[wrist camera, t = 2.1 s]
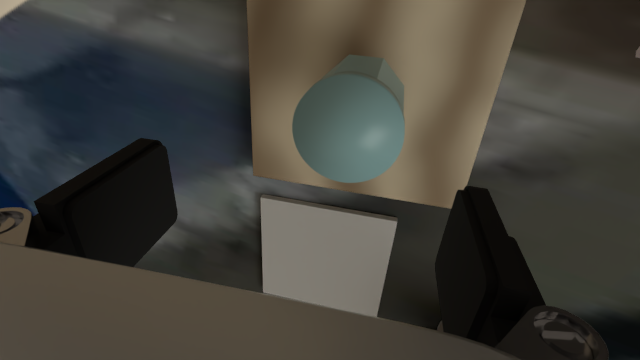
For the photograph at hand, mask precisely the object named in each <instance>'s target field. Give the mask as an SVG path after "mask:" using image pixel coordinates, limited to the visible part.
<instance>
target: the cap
mask: <svg viewBox="0 0 640 360" xmlns="http://www.w3.org/2000/svg"><path fill="white" fill-rule="evenodd" d="M292 133H293V139H294V142H295V145H296V148H297V150H298V152H299V154H300V155H301V157H302V158H303V160H304V161H305V162H306V163H307V164H308V165H309V166H310V167H311V168H312V169H313V170H314V171H316V172H317V173H319V174H320V175H322V176H324V177H326V178H328V179H331V180H334V181H338V182H344V183H358V182H364V181H368V180H370V179H373V178H375V177H377V176H379V175H381V174H382V173H384V172H385V171H386V170H387V169H389V168H390V167H391V166H392V164H393V163H394V162H395V161H396V159H397V157H398V156H399V154H400V152H401V149H402V146H403V142H404V135H405V119H404V85H403V83H402V82H401V81H400V79H399V78H398V77H397V75H396V74H395V73H394V71H393V70H392V69H391V67H390V66H389V65H388V63H387V62H386V61H385V59H384V58H378V57H368V56H359V55H348V56H347V57H346V58H344V59H343V60H342V61H341V62H340V63H339V64H337V65H336V66H335V67H334V68H333V69H332V70H330V71H329V72H328V73H327V74H326V75H325V76H323V78H322V79H320V80H319V81H318V82H316V83H315V84H314V85H313V86H312V87H311V88H310V89H309V90H308V91H307V92H306V93H305V94H304V96H303V97H302V98H301V100H300V101H299V103H298V105H297V107H296V110H295V112H294V116H293V123H292Z"/></svg>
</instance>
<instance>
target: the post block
mask: <svg viewBox="0 0 640 360" xmlns="http://www.w3.org/2000/svg"><path fill="white" fill-rule="evenodd" d="M525 3H526V0H247V21H248V47H249V73H250V99H251V125H252V151H253V176H259V177H265V178H271V179H277V180H283V181H289V182H295V183H301V184H307V185H313V186H319V187H325V188H331V189H337V190H343V191H349V192H355V193H361V194H367V195H373V196H379V197H385V198H391V199H397V200H403V201H408V202H414V203H420V204H426V205H432V206H438V207H444V208H450V209H451V208H452V205H453V202H454V199H455V195H456V192H457V191H458V190H464V188H465V187H466V186H467V183H468V180H469V177H470V174H471V170H472V167H473V164H474V161H475V158H476V155H477V152H478V149H479V146H480V143H481V139H482V136H483V133H484V130H485V127H486V124H487V121H488V118H489V115H490V111H491V108H492V105H493V102H494V99H495V96H496V93H497V90H498V87H499V83H500V80H501V77H502V74H503V71H504V68H505V65H506V62H507V59H508V55H509V52H510V49H511V46H512V43H513V40H514V37H515V34H516V31H517V28H518V24H519V21H520V18H521V15H522V12H523V9H524V6H525ZM348 55H359V56H368V57H378V58H384V59H385V61H386V62H387V63H388V65H389V66H390V67H391V69H392V70H393V71H394V73H395V74H396V75H397V77H398V78H399V79H400V81H401V82H402V83H403V85H404V119H405V135H404V142H403V146H402V149H401V152H400V154H399V156H398V157H397V159H396V161H395V162H394V163H393V164H392V166H391V167H390V168H389V169H387V170H386V171H385V172H384V173H382V174H381V175H379V176H377V177H375V178H373V179H370V180H368V181H364V182H358V183H344V182H338V181H334V180H331V179H328V178H326V177H324V176H322V175H320V174H319V173H317V172H316V171H314V170H313V169H312V168H311V167H310V166H309V165H308V164H307V163H306V162H305V161H304V160H303V158H302V157H301V155H300V154H299V152H298V150H297V148H296V145H295V142H294V139H293V133H292V123H293V116H294V112H295V110H296V107H297V105H298V103H299V101H300V100H301V98H302V97H303V96H304V94H305V93H306V92H307V91H308V90H309V89H310V88H311V87H312V86H313V85H314V84H315V83H316V82H318V81H319V80H320V79H322V78H323V76H325V75H326V74H327V73H328V72H329V71H330V70H332V69H333V68H334V67H335V66H336V65H337V64H339V63H340V62H341V61H342V60H343V59H344V58H346V57H347V56H348Z"/></svg>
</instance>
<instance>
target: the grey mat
mask: <svg viewBox="0 0 640 360" xmlns="http://www.w3.org/2000/svg"><path fill="white" fill-rule="evenodd" d="M396 226H397V217H391V216H385V215H380V214H374V213H368V212H362V211H357V210H351V209H345V208H340V207H334V206H328V205H323V204H317V203H311V202H306V201H300V200H294V199H288V198H283V197H277V196H271V195H266V194H263V195H262V196H261V232H262V268H263V292H264V293H268V294H273V295H277V296H282V297H286V298H291V299H295V300H300V301H304V302H309V303H314V304H318V305H323V306H327V307H332V308H336V309H341V310H346V311H351V312H355V313H360V314H365V315H370V316H375V317H377V313H378V308H379V304H380V299H381V295H382V290H383V285H384V281H385V276H386V272H387V267H388V262H389V258H390V253H391V249H392V244H393V239H394V235H395V230H396Z"/></svg>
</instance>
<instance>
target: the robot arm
mask: <svg viewBox="0 0 640 360" xmlns="http://www.w3.org/2000/svg"><path fill="white" fill-rule="evenodd" d="M34 203H35V205H36V208H37V210H38V212H39V213H38V214H37V215H35V216H34V217H33V216H32V214H31V212H30V211H28V210H27V209H24V208H15V207H11V208H2V209H0V360H608V356H609V353H608V350H607V347H606V344H605V343H604V341H603V340H602V338H601V337H600V335H599V334H598V333H597V332H596V331H595V330H594V329H593V328H592V327H591V326H590V325H589V324H587V323H586V322H585V321H583V320H582V319H580V318H579V317H577V316H575V315H574V314H572V313H570V312H568V311H566V310H563V309H560V308H557V307H552V306H546V304H545V302H544V300H543V298H542V296H541V294H540V291H539V289H538V287H537V285H536V283H535V281H534V278H533V276H532V274H531V272H530V270H529V268H528V266H527V263H526V261H525V259H524V257H523V255H522V253H521V250H520V248H519V246H518V244H517V242H516V240H515V239H514V238H513V237H510V236H508V234H507V232H506V229H505V227H504V225H503V223H502V220H501V218H500V216H499V214H498V211H497V209H496V207H495V205H494V202H493V200H492V198H491V195H490V193H489V191H488V189H485V188H478V187H472V186H466V187H465V188H464V190H458V191H457V192H456V195H455V199H454V202H453V205H452V208H451V212H450V215H449V218H448V221H447V225H446V228H445V231H444V234H443V238H442V241H441V244H440V248H439V251H438V254H437V257H436V262H435V272H436V280H437V287H438V295H439V302H440V310H441V317H442V325H443V332H441V331H437V330H432V329H428V328H424V327H420V326H416V325H412V324H407V323H403V322H399V321H394V320H389V319H384V318H379V317H375V316H370V315H365V314H360V313H355V312H351V311H346V310H341V309H336V308H331V307H327V306H322V305H317V304H312V303H307V302H302V301H298V300H293V299H288V298H283V297H278V296H273V295H268V294H263V293H258V292H253V291H248V290H243V289H239V288H234V287H229V286H224V285H219V284H214V283H209V282H204V281H199V280H194V279H189V278H184V277H179V276H174V275H169V274H164V273H159V272H154V271H149V270H144V269H139V268H134V266H135V264H136V263H137V262H138V261H139V260H140V259H141V258H142V257H143V256H144V255H145V254H146V253H147V252H148V251H149V250H150V248H151V247H152V246H153V245H154V244H155V243H156V242H157V241H158V240H159V239H160V238H161V237H162V236H163V235H164V234H165V232H166V231H167V230H168V229H169V228H170V227H171V226H172V225H173V224H174V223H175V221H176V219H177V207H176V201H175V195H174V189H173V183H172V178H171V172H170V166H169V160H168V154H167V150H166V147H165V146H163V145H162V143H161V142H160V141H158V140H151V139H144V138H140V139H138V140H136V141H135V142H133V143H131V144H130V145H128V146H126V147H125V148H123V149H121V150H120V151H118V152H116V153H114V154H113V155H111V156H109V157H108V158H106V159H104V160H103V161H101V162H99V163H98V164H96V165H94V166H93V167H91V168H89V169H88V170H86V171H84V172H83V173H81V174H79V175H78V176H76V177H74V178H72V179H71V180H69V181H67V182H66V183H64V184H62V185H61V186H59V187H57V188H56V189H54V190H52V191H51V192H49V193H47V194H46V195H44V196H42V197H41V198H39V199H37V200H36V201H34Z"/></svg>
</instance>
